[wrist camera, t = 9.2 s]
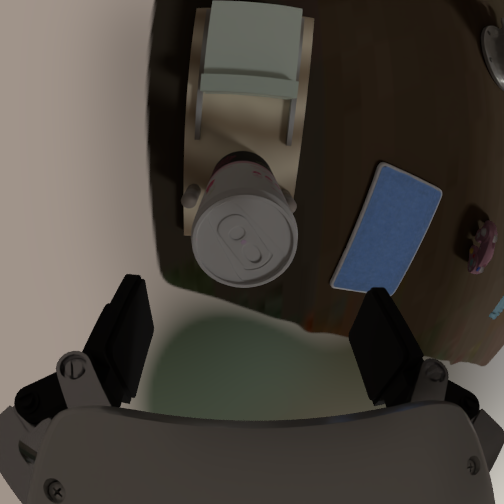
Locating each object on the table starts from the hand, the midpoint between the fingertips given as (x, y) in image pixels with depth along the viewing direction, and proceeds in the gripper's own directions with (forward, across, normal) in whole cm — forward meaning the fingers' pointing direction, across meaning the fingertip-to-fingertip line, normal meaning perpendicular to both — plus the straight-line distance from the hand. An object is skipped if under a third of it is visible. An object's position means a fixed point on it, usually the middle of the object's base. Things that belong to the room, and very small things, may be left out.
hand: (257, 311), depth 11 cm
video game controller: (+23, -42, +6) cm, 48 cm away
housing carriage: (+21, +1, -14) cm, 25 cm away
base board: (+22, +1, -6) cm, 23 cm away
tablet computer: (+23, -20, +7) cm, 32 cm away
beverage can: (+21, +1, 0) cm, 21 cm away
